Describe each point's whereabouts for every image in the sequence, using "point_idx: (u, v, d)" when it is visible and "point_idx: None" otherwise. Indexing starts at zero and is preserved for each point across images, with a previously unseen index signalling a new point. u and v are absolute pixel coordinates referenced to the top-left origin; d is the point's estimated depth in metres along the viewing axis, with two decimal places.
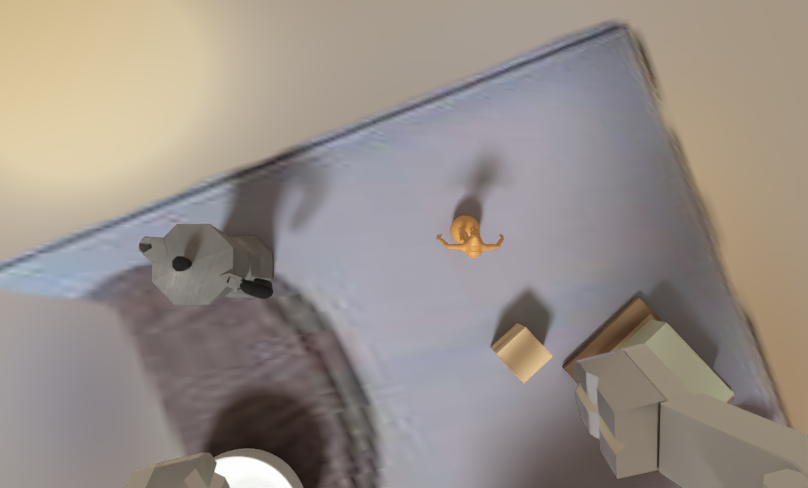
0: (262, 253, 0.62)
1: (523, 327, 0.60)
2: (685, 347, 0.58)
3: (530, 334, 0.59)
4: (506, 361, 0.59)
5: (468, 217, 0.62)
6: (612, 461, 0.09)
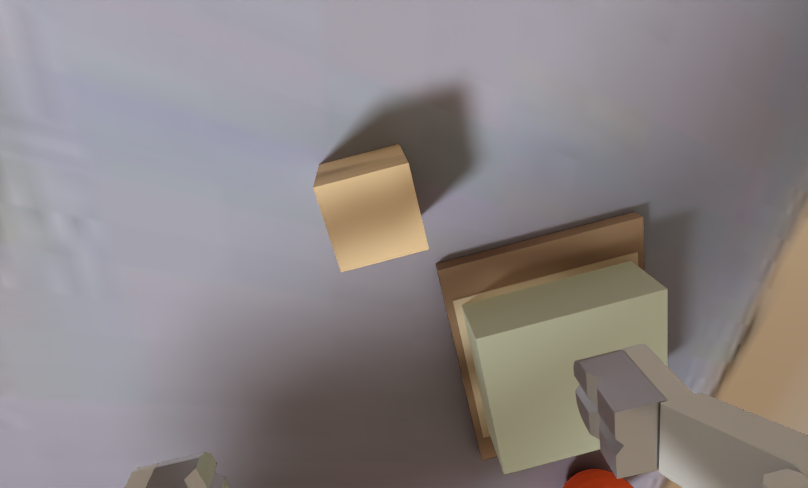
0: None
1: (403, 161, 0.24)
2: (660, 340, 0.30)
3: (409, 184, 0.24)
4: (326, 213, 0.24)
5: None
6: (612, 461, 0.09)
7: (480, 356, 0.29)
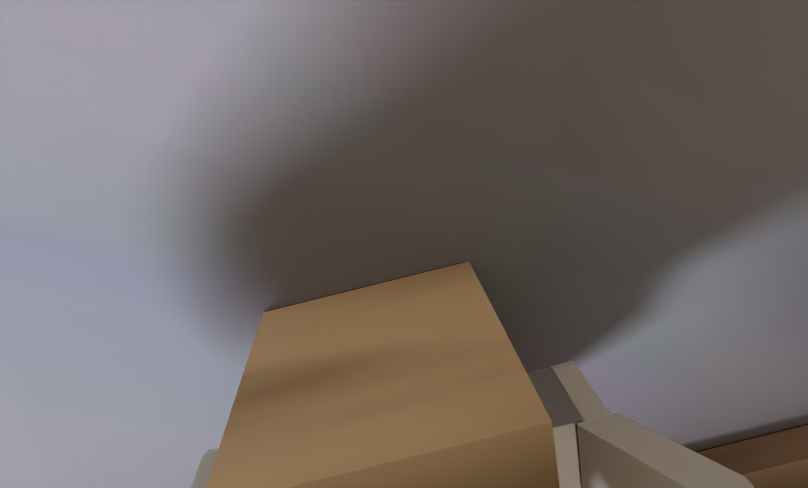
0: None
1: (525, 397, 0.07)
2: None
3: (546, 480, 0.07)
4: None
5: None
6: None
7: None
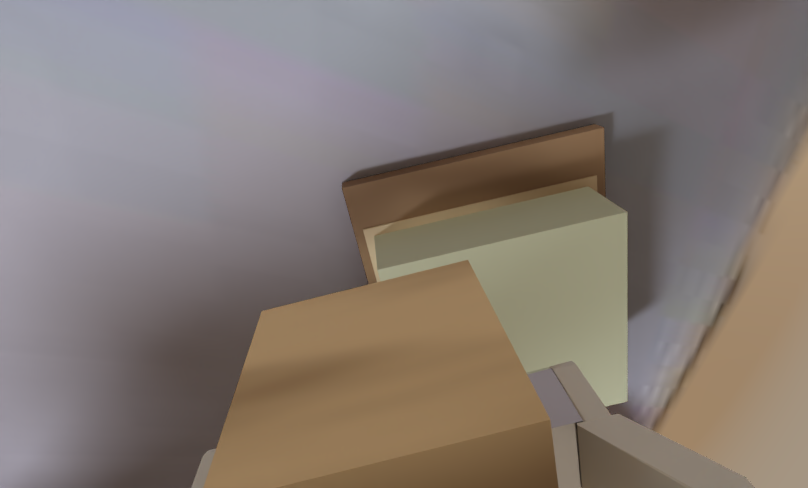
0: None
1: (523, 395, 0.07)
2: (619, 282, 0.23)
3: (544, 478, 0.07)
4: None
5: None
6: None
7: None
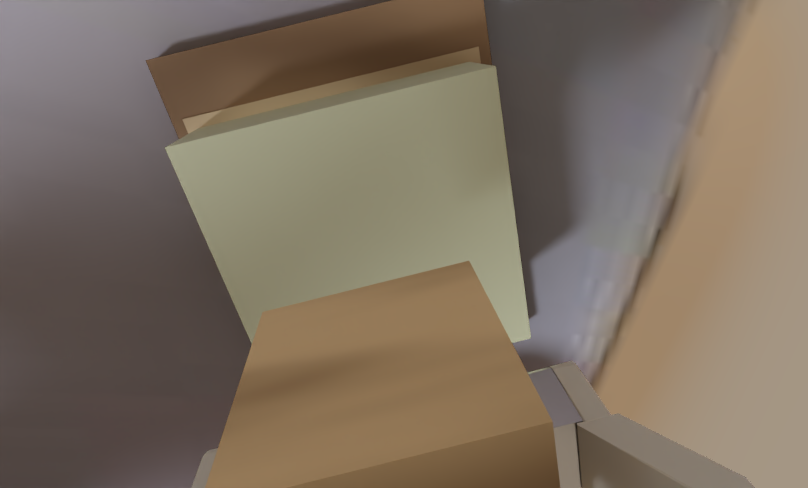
0: None
1: (525, 397, 0.07)
2: (497, 169, 0.18)
3: (546, 480, 0.07)
4: None
5: None
6: None
7: (182, 183, 0.17)
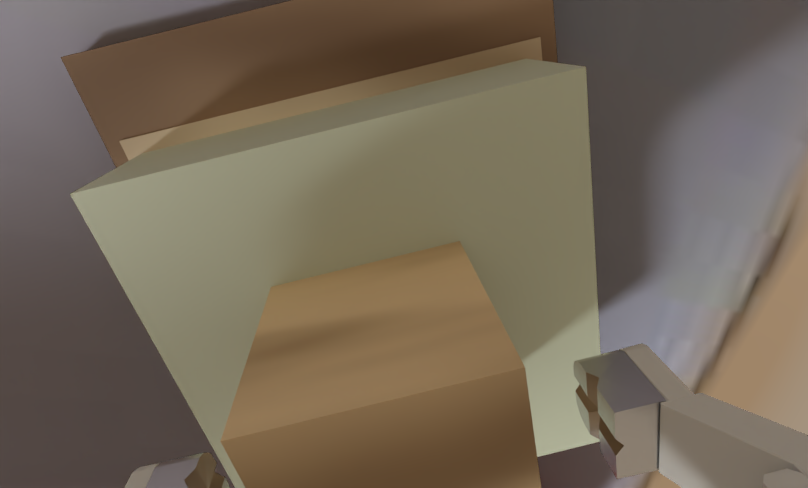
0: None
1: (503, 349, 0.08)
2: (577, 221, 0.12)
3: (521, 421, 0.08)
4: None
5: None
6: (612, 461, 0.09)
7: (102, 245, 0.11)
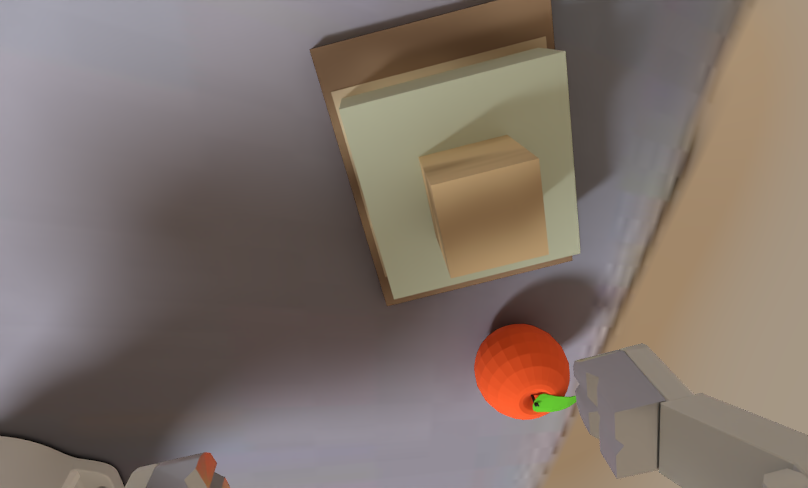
0: None
1: (530, 156, 0.21)
2: (563, 125, 0.25)
3: (537, 182, 0.21)
4: (442, 214, 0.22)
5: None
6: (612, 461, 0.09)
7: (347, 134, 0.25)
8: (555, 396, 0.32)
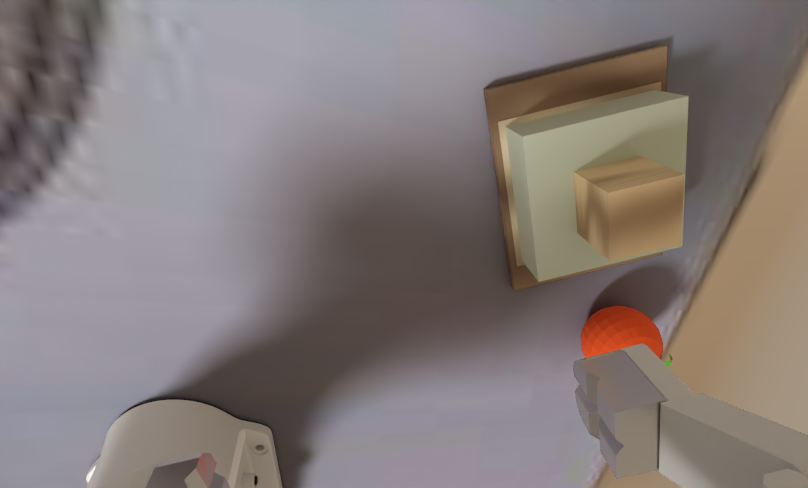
0: None
1: (676, 172, 0.30)
2: (680, 149, 0.34)
3: (681, 191, 0.30)
4: (611, 214, 0.30)
5: None
6: (612, 461, 0.09)
7: (525, 155, 0.33)
8: None
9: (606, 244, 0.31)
